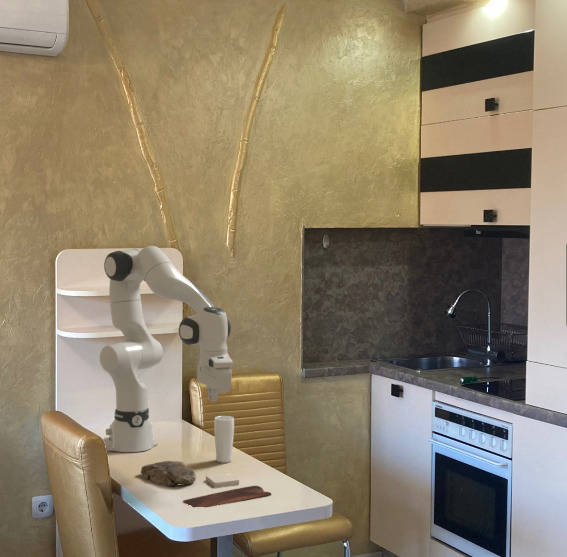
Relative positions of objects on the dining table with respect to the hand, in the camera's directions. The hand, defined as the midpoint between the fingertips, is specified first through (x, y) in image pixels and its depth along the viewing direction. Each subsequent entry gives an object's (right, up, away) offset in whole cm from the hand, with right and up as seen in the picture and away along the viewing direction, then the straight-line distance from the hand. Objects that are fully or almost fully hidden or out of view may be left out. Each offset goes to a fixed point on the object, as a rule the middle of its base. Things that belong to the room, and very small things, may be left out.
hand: (213, 400), depth 280 cm
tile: (+2, -24, -2) cm, 24 cm away
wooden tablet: (+6, -27, -21) cm, 34 cm away
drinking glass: (+2, -23, +18) cm, 30 cm away
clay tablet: (-13, -25, -3) cm, 28 cm away
